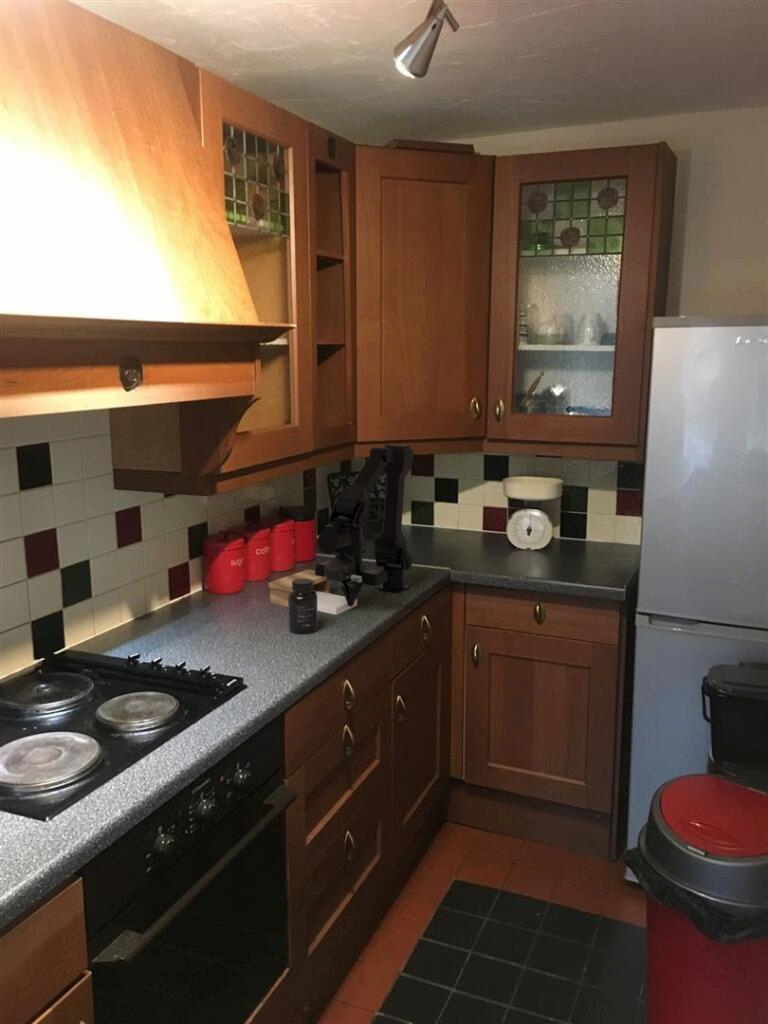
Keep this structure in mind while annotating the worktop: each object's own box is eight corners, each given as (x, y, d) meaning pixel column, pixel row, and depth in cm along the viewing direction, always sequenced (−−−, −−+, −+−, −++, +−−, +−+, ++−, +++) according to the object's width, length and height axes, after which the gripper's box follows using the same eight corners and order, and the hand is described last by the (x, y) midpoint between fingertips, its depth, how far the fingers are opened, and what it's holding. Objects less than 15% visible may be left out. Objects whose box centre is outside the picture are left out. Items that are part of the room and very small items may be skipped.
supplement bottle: (285, 627, 205) (284, 578, 203) (313, 624, 207) (312, 575, 205) (292, 636, 199) (292, 586, 196) (321, 633, 201) (320, 583, 199)
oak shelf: (307, 589, 236) (307, 569, 235) (331, 594, 232) (331, 574, 230) (269, 603, 223) (268, 582, 222) (293, 609, 218) (292, 587, 217)
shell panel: (307, 597, 231) (307, 589, 230) (357, 608, 222) (357, 599, 222) (286, 606, 223) (286, 597, 223) (336, 617, 215) (336, 607, 214)
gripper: (301, 546, 214) (301, 607, 217) (363, 557, 204) (363, 620, 207) (327, 538, 223) (328, 596, 226) (388, 548, 213) (388, 609, 216)
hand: (350, 605), depth 218 cm, fingers closed
